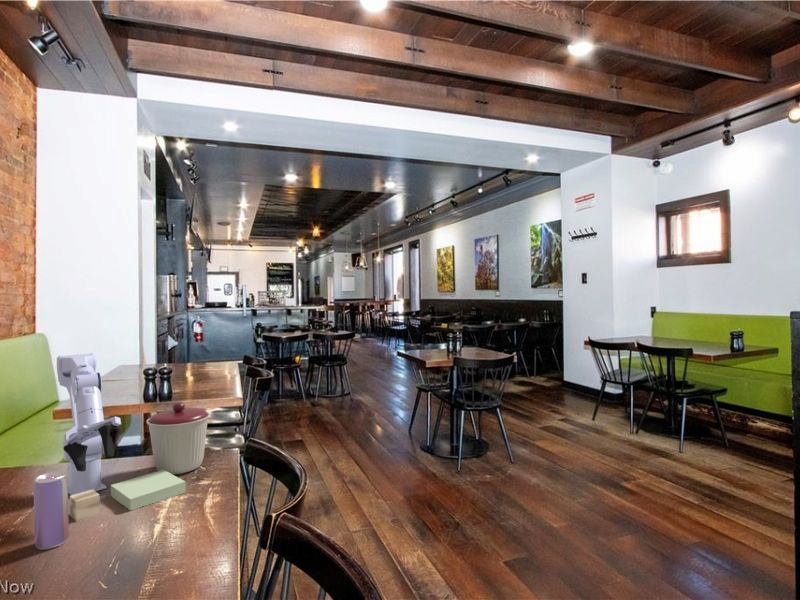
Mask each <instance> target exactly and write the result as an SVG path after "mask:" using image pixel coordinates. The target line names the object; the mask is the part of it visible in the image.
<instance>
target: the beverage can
mask: <svg viewBox="0 0 800 600" xmlns="http://www.w3.org/2000/svg"><path fill="white" fill-rule="evenodd" d="M33 512H34V513H33V514H34V515H33V516H34V518H33V519H34V524H33V525H34V547H36V549H38V550H41V551H46V550H51V549H52V550H53V549H54V548H57V546H58V547H60V546H61V545H62V546H63V544H65V543H66V541H68V538H69V536H70V533H69V527H70V526H69V525H70V524H69V493H68V475H67V472H66V471H52V472H47V473H43V474H41V475H38V476H37V477H36V478H34V483H33Z"/></svg>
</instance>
